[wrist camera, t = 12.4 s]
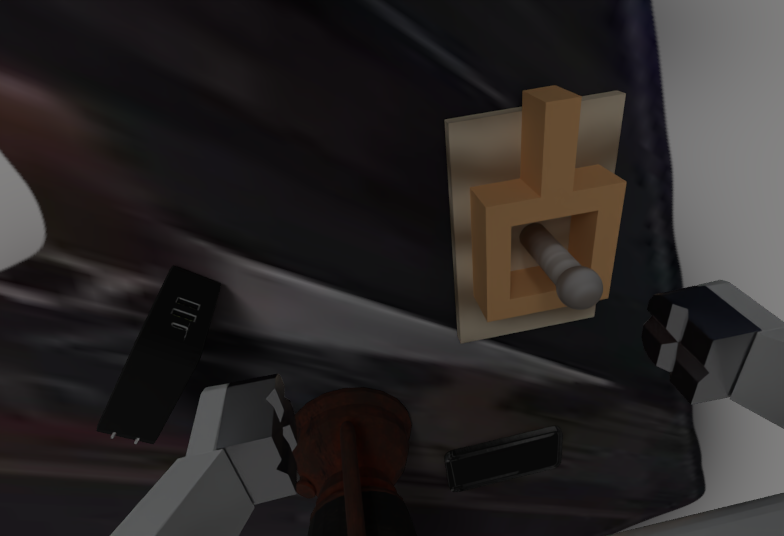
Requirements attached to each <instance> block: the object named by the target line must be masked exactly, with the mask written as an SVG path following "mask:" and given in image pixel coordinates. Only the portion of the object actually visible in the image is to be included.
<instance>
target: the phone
mask: <svg viewBox="0 0 784 536" xmlns="http://www.w3.org/2000/svg"><path fill="white" fill-rule="evenodd" d="M562 440H563V434H562V432H561V430H560V428H559V427H557V426H552V427H547V428H543V429H539V430H535V431H531V432H527V433H522V434H518V435H514V436H510V437H506V438H502V439H497V440H493V441H489V442H485V443H481V444H477V445H473V446H468V447H464V448H460V449H456V450H452V451H449V452H448V453H447V454H446V455H445V465H446V471H447V477H448V483H449V487H450V490H451V491H453V492H460V491H464V490H468V489H472V488H477V487H481V486H485V485H489V484H493V483H497V482H501V481H505V480H509V479H513V478H517V477H522V476H526V475H530V474H534V473H538V472H542V471H546V470H550V469H554V468H556V467H558V466H559V465H560V464H561V455H562Z"/></svg>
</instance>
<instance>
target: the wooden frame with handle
mask: <svg viewBox="0 0 784 536" xmlns="http://www.w3.org/2000/svg"><path fill="white" fill-rule="evenodd" d="M581 100H582V96H580V95H577V94H575V93H572V92H570V91H568V90H565V89H563V88H560V87H558V86H556V85H553V86H547V87H541V88H535V89H529V90H523V93H522V130H521V166H520V178H519V179H514V180H508V181H502V182H497V183H491V184H486V185H480V186H475V187H470V208H471V236H472V265H473V293H474V298H475V300H476V302H477V303H478V305H479V307H480V309H481V311H482V313H483V315H484V317H485V319H486V320H487V322H492V321H497V320H502V319H507V318H512V317H517V316H522V315H527V314H532V313H537V312H542V311H547V310H552V309H557V308H562V307H567V306H566V305H565V304H563V303H562V302H561V300H560V299H559V297H558V295H557V292H556V285H555V284H554V283H553V282H552V281H551V279H550V278H549V277H548V276H547V274H546V273H545V272H544V271H543V270H542V268H541V267H540V266H535V267H530V268H525V269H520V270H515V271H511V227H512V226H517V225H522V224H528V223H533V222H538V221H544V220H549V219H554V218H560V217H565V216H571V223H570V233H569V244H568V252H569V253H570V254H571V255H572V256H573V257H574V258H575V259H576V260H577V261H578V262H579V263H580V265H581V266H584V267H588V268H590V269H592V270H594V271H595V272H596V273H597V274H598V275H599V276H600V278H601V280H602V283H603V293H602V296H601V298H600V300H602V299H607V298H608V296H609V290H610V284H611V277H612V271H613V265H614V258H615V252H616V246H617V239H618V233H619V227H620V221H621V214H622V208H623V202H624V195H625V189H626V183H627V182H626V181H625V180H623V179H622V178H620V177H618V176H617V175H615V174H614V173H612V172H610V171H609V170H607V169H606V168H604V167H602V166H601V165H599V164H597V165H592V166H586V167H580V168H575V164H576V153H577V142H578V132H579V121H580V110H581Z"/></svg>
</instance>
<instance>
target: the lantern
mask: <svg viewBox="0 0 784 536" xmlns="http://www.w3.org/2000/svg"><path fill="white" fill-rule="evenodd" d="M295 419H296V427H297V446H296V447H295V449H294V450H293V451H292V453H293V455H294V457H295V460H296V463H297V471H298V473H299V475H300V480H299V481H298V482H297V489H296V492H297V493H298V494H300V495H301V496H303V497H306V498H313V497H315V495H316V496H317V497H318V499H317V502H316V506H315V508H314V510H313V512H312V514H311V518H310V526H309V531H308V536H417V535H416V532H415V529H414V526H413V523H412V520H411V518H410V515H409V513H408V510H407V508H406V506H405V503H404V501H403V498H401V497H400V496H399V495H398V494H397V492H396V489H395V487H394V484H395V483H396V482H397V481H398V479H399V478H400V476H401V475H402V473H403V472H404V468H405V465H406V461H407V455H408V450H409V441H408V440H409V438H410V432H411V426H412V425H411V422H410V418H409V415H408V412H407V409H406V408H405V407H404V406H403V405H402V404H401V403H400V401H399V400H398V399H397V398H395V397H393V396H391V395H389V394H387V393H385V392H383V391H379V390H374V389H369V388H364V387H363V388H343V389H339V390H336V391H332V392H328V393H325V394H322V395H321V396H319V397H317V398H315V399H313V400H312V401H310V402H308V403H306V404H305V405H304V406H303V407H302V408H301V409H300V410H299V411H298V412H297V413H296V414H295Z"/></svg>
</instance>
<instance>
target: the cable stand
mask: <svg viewBox="0 0 784 536" xmlns="http://www.w3.org/2000/svg"><path fill="white" fill-rule="evenodd" d="M625 96H626V93H623V92H620V91H617V90H616V91H611V92H605V93H599V94H593V95H587V96H582V100H581V110H580V121H579V132H578V142H577V153H576V164H575V168H580V167H586V166H592V165H597V164H599V165H601V166H602V167H604V168H606V169H607V170H609V171H610V172H612V173H615V166H616V159H617V152H618V145H619V138H620V131H621V124H622V117H623V110H624V103H625ZM444 122H445V138H446V154H447V171H448V187H449V204H450V220H451V236H452V253H453V269H454V285H455V302H456V318H457V335H458V338H459V340H460V343H466V342H471V341H476V340H481V339H486V338H491V337H496V336H501V335H506V334H511V333H516V332H521V331H526V330H531V329H536V328H541V327H546V326H551V325H556V324H561V323H566V322H571V321H576V320H581V319H586V318H591V317H594V313H595V306H596V303H597V302H598V301H599V300H600V298H601V296H602V293H603V283H602V280H601V278H600V276H599V275H598V274H597V273H596V272H595V271H594V270H592V269H590V268H588V267H584V266H581V265H580V263H579V262H578V261H577V260H576V259H575V258H574V257H573V256H572V255H571V254H570V253H569V252H568V244H569V233H570V223H571V216H565V217H560V218H554V219H549V220H544V221H538V222H533V223H528V224H522V225H517V226H512V227H511V271H515V270H520V269H525V268H530V267H535V266H540V267H541V268H542V270H543V271H544V272H545V273H546V274H547V276H548V277H549V278H550V279H551V281H552V282H553V283H554V284H555V285H556V292H557V295H558V297H559V299H560V300H561V302H562V303H563V304H565V305H566V306H567V307H562V308H557V309H552V310H547V311H542V312H537V313H532V314H527V315H522V316H517V317H512V318H507V319H502V320H497V321H492V322H487V320H486V319H485V317H484V315H483V313H482V311H481V309H480V307H479V305H478V303H477V302H476V300H475V298H474V293H473V265H472V236H471V208H470V187H475V186H480V185H486V184H491V183H497V182H502V181H508V180H514V179H519V178H520V166H521V130H522V107H516V108H510V109H504V110H498V111H492V112H486V113H480V114H474V115H468V116H462V117H456V118H451V119H445V120H444Z"/></svg>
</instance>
